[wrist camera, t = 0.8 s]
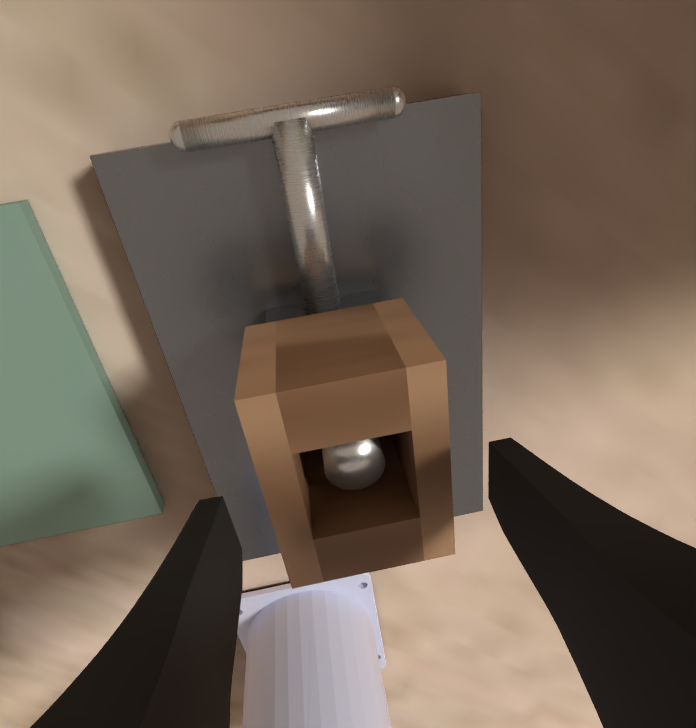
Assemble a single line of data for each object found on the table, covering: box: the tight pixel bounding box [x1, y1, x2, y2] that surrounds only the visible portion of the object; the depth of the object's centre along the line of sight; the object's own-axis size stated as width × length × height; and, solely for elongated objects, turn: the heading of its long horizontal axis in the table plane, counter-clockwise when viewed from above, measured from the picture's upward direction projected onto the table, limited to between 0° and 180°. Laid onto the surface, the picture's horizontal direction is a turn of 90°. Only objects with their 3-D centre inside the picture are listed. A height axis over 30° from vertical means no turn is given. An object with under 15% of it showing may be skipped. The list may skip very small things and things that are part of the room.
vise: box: [90, 87, 483, 561], centre depth 17 cm, size 18×12×7 cm, turn 8°
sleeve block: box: [234, 298, 455, 589], centre depth 15 cm, size 7×5×4 cm
